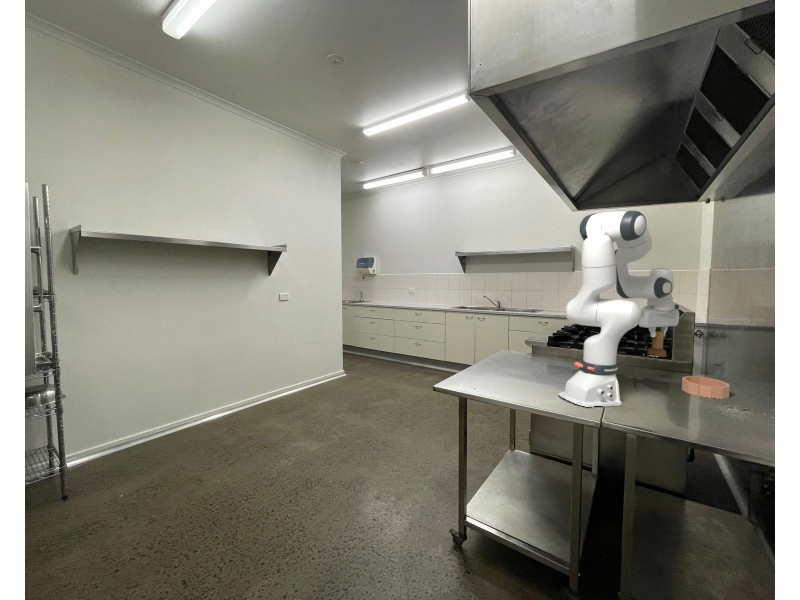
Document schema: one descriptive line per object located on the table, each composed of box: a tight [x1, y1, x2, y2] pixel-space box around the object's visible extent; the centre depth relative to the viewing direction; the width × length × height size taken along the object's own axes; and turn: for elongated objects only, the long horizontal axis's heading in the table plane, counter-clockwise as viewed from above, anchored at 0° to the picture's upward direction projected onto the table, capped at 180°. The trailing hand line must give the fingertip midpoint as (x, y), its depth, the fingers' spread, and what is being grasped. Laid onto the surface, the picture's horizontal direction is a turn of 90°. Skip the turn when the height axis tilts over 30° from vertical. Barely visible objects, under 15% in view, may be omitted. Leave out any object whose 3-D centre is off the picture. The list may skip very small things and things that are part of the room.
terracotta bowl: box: [681, 375, 731, 400], centre depth 134 cm, size 14×14×4 cm
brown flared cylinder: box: [647, 327, 667, 358], centre depth 147 cm, size 7×6×18 cm
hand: (657, 336), depth 147 cm, fingers closed on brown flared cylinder, 4 cm apart
